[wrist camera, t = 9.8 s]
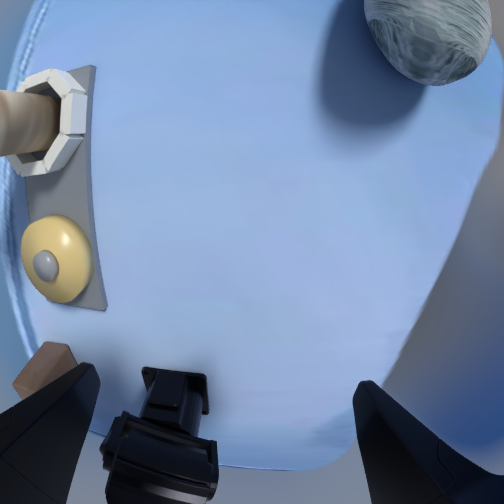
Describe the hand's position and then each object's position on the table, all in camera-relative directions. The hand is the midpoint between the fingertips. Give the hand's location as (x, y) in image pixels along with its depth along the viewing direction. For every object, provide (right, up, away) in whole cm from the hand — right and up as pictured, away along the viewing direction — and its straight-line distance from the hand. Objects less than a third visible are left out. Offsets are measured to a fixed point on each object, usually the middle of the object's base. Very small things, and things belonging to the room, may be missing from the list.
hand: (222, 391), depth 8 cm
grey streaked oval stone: (+13, +23, +6) cm, 27 cm away
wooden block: (-21, -7, +17) cm, 28 cm away
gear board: (-15, +9, +10) cm, 20 cm away
